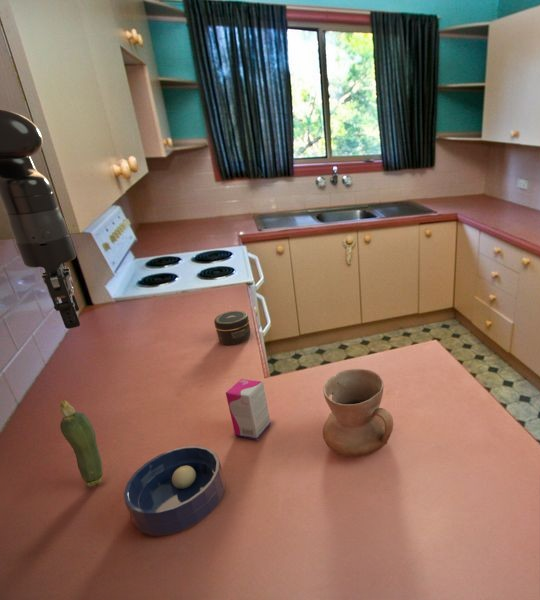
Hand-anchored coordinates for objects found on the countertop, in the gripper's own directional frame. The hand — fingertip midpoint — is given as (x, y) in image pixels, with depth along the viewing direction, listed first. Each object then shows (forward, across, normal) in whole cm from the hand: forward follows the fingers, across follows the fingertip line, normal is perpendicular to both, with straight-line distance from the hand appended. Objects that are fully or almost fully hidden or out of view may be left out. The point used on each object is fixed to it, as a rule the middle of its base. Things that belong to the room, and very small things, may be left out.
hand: (73, 319), depth 81 cm
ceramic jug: (+30, +32, +42) cm, 61 cm away
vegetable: (+30, +10, -4) cm, 32 cm away
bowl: (+30, +26, +8) cm, 40 cm away
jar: (+30, -32, +35) cm, 56 cm away
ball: (+27, +23, +10) cm, 37 cm away
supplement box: (+30, +14, +25) cm, 42 cm away
